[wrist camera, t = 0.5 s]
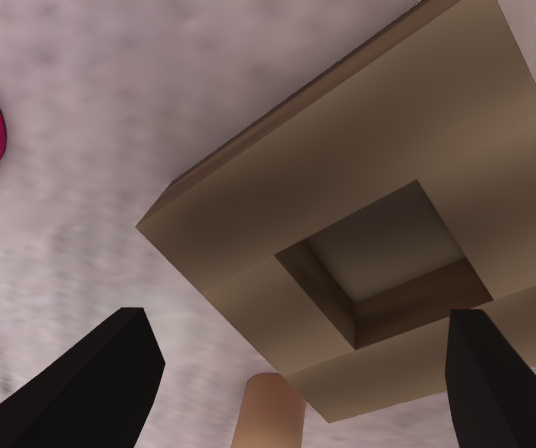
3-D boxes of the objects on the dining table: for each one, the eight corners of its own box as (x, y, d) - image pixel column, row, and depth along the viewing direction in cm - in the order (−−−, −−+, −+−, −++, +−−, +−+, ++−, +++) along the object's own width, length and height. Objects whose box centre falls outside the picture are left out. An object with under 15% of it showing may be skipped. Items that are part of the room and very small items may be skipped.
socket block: (597, 265, 19) (651, 332, 15) (331, 361, 25) (328, 423, 21) (455, -24, 14) (488, -19, 11) (171, 182, 20) (135, 226, 17)
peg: (318, 403, 27) (309, 524, 21) (270, 418, 29) (249, 534, 23) (281, 365, 26) (261, 484, 20) (233, 383, 28) (202, 497, 22)
